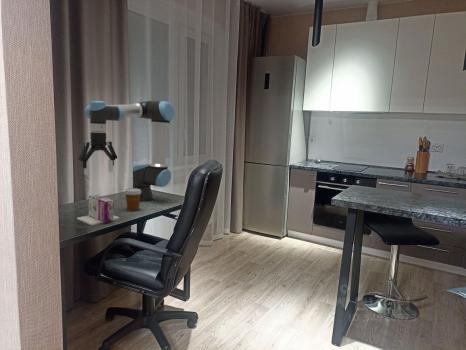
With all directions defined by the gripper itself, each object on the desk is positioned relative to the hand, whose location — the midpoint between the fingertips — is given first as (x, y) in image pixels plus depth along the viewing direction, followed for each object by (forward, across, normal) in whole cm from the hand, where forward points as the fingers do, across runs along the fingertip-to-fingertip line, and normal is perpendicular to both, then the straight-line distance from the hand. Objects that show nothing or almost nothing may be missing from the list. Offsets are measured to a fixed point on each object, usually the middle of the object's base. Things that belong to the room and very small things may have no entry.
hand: (98, 173), depth 171 cm
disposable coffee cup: (+25, +24, +4) cm, 35 cm away
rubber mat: (+25, 0, +1) cm, 25 cm away
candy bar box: (+18, 0, -10) cm, 21 cm away
